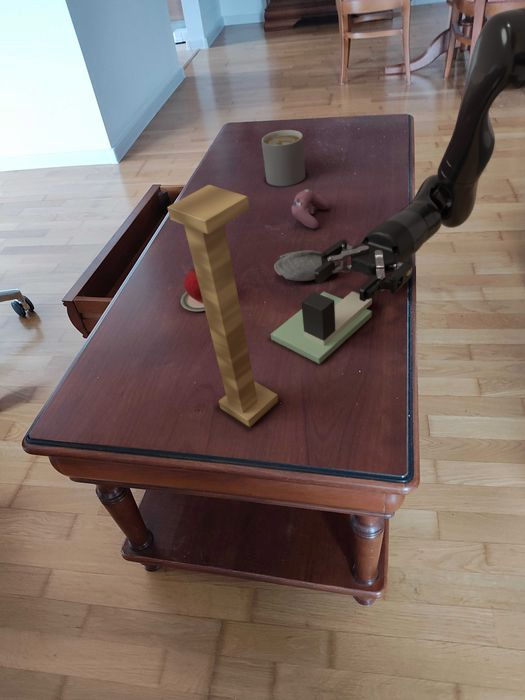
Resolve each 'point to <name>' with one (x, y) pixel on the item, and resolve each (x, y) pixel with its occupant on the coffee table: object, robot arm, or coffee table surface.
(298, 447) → the coffee table surface
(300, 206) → the video game controller
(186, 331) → the coffee table surface
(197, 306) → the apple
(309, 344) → the pale green rectangular panel
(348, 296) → the wooden mallet
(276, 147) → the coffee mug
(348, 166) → the coffee table surface
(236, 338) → the stand
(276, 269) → the seashell
